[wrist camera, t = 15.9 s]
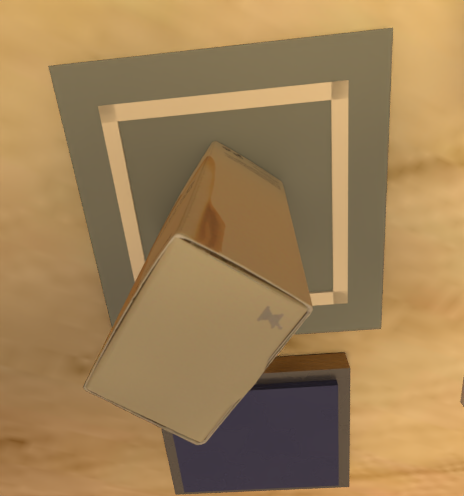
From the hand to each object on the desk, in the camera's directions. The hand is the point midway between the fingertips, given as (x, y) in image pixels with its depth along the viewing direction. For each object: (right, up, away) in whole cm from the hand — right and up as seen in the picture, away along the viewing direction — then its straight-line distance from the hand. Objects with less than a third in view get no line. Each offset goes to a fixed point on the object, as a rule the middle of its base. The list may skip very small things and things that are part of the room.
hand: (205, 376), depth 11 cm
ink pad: (+2, -8, +19) cm, 20 cm away
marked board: (+1, +5, +13) cm, 14 cm away
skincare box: (0, +5, +12) cm, 14 cm away
